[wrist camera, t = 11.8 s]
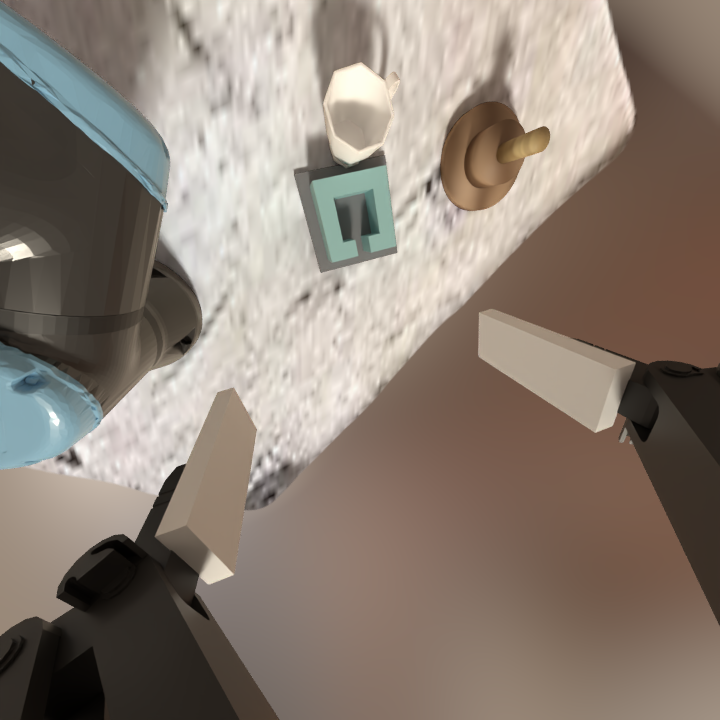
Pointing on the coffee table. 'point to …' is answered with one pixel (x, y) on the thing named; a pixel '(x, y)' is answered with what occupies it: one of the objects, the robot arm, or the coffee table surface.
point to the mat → (340, 214)
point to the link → (377, 207)
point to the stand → (486, 155)
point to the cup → (358, 112)
